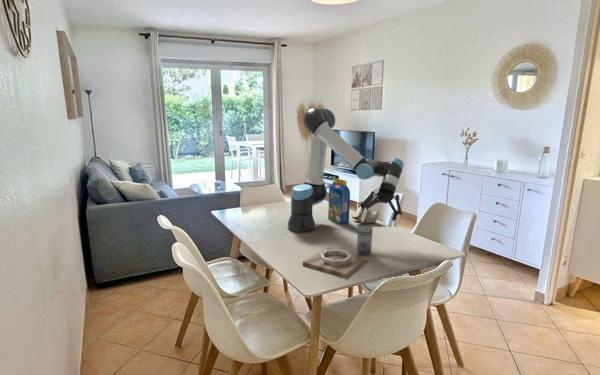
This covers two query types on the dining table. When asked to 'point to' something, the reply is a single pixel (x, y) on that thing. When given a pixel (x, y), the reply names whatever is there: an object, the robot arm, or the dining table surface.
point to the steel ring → (335, 262)
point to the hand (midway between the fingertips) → (375, 223)
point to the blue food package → (339, 201)
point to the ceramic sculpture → (367, 217)
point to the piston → (364, 240)
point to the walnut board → (339, 269)
